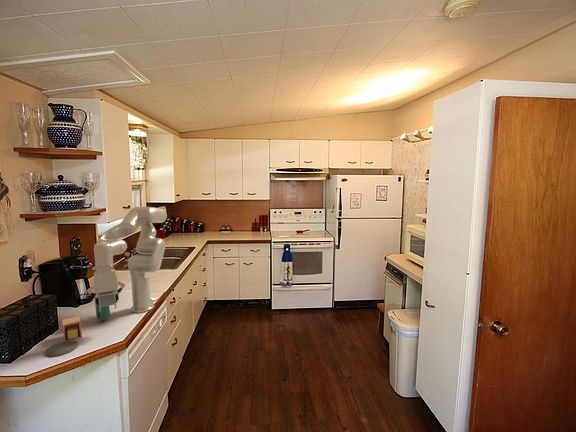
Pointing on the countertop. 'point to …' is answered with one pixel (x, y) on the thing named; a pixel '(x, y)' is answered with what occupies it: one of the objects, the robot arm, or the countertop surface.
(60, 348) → the charcoal mat
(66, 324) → the rust cover
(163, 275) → the countertop surface
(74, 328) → the mustard cube
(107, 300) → the slate cover
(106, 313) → the beverage bottle
